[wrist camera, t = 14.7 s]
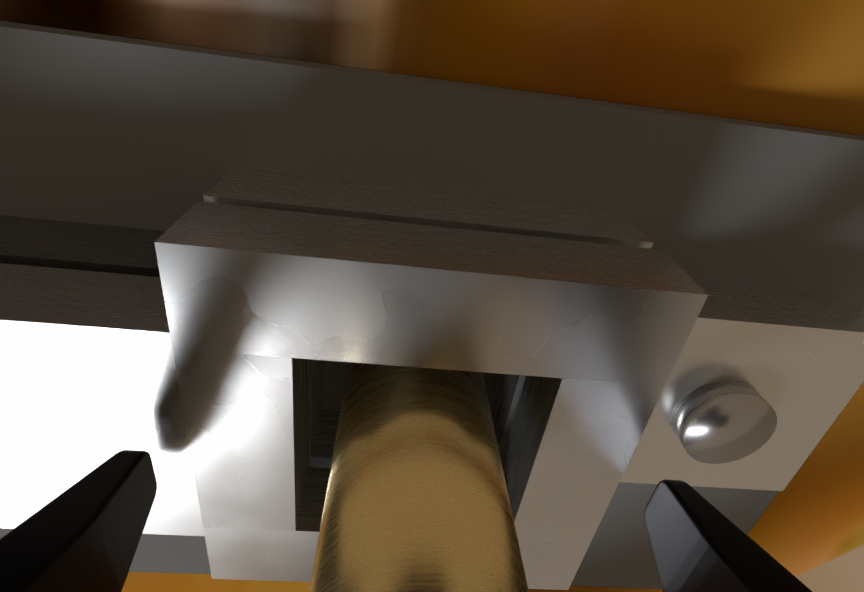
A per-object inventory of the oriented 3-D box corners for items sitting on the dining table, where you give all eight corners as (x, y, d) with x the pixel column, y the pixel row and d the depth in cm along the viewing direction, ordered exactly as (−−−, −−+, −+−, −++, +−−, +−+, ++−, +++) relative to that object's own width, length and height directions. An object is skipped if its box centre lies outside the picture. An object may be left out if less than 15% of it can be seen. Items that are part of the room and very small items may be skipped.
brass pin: (473, 392, 13) (534, 732, 7) (357, 397, 13) (312, 746, 7) (477, 291, 11) (558, 608, 5) (346, 296, 11) (273, 623, 5)
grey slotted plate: (725, 478, 15) (770, 547, 13) (-231, 424, 12) (-345, 499, 11) (876, 239, 11) (973, 287, 9) (-485, 88, 8) (-742, 112, 7)
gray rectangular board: (695, 569, 19) (706, 590, 18) (-171, 536, 16) (-197, 560, 15) (980, 151, 11) (1018, 161, 10) (-652, -67, 8) (-752, -74, 7)
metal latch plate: (551, 527, 13) (589, 670, 10) (-175, 494, 11) (-366, 654, 8) (662, 249, 9) (775, 360, 6) (-445, 135, 7) (-983, 215, 4)
